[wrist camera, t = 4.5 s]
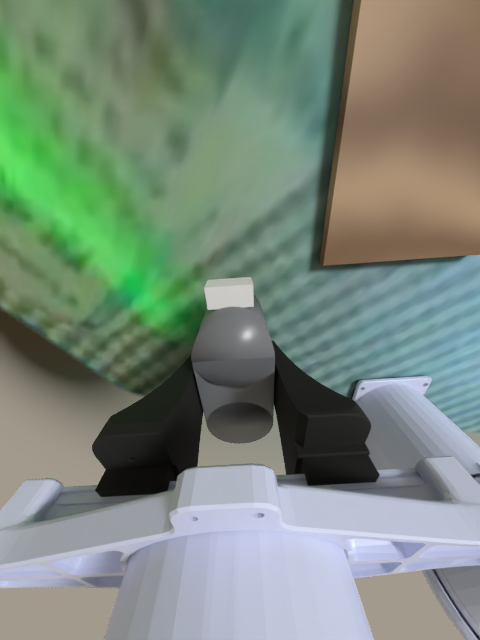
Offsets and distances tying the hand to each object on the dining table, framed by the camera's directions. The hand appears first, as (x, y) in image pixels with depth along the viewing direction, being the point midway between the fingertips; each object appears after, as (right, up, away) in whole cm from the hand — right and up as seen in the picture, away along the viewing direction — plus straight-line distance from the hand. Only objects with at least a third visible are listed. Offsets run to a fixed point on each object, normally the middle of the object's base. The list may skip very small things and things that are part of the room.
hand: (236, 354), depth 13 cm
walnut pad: (+12, +14, -2) cm, 18 cm away
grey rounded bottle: (0, +1, +1) cm, 1 cm away
